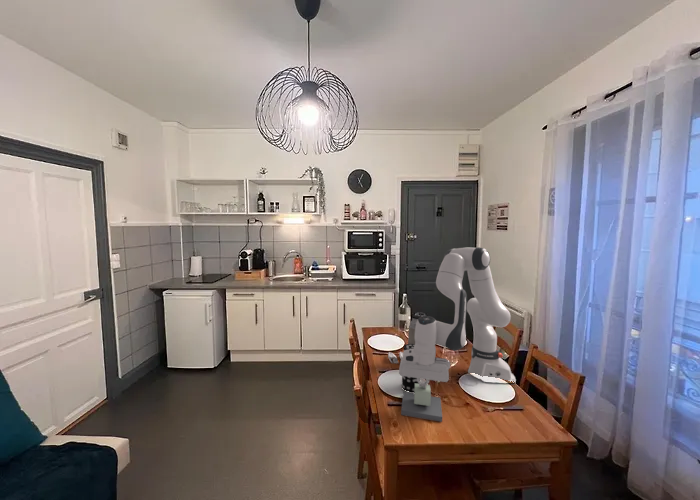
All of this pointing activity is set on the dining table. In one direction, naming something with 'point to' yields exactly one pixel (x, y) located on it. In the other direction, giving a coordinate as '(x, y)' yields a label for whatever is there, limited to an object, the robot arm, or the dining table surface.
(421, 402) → the sage green cube
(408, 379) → the white-spotted black cylinder
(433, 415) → the charcoal board
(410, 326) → the thermos bottle
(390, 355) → the salt and pepper shakers
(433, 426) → the dining table surface
